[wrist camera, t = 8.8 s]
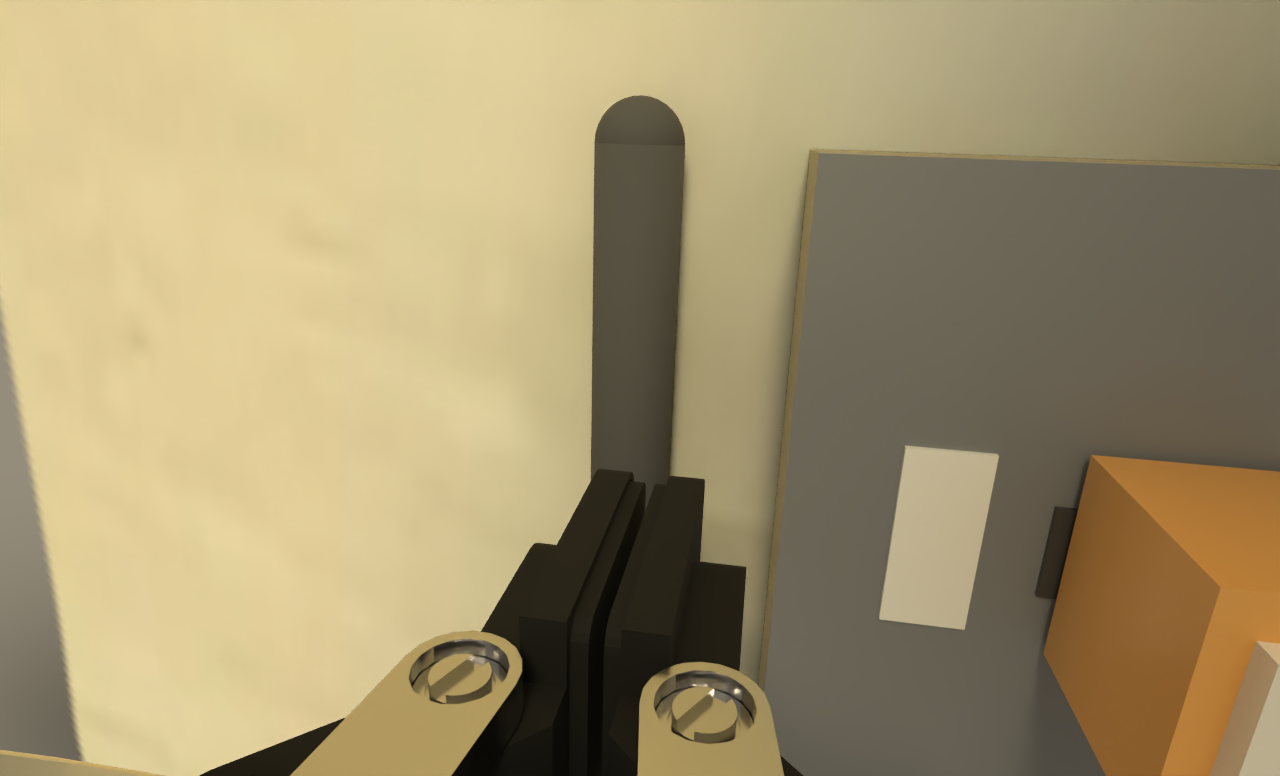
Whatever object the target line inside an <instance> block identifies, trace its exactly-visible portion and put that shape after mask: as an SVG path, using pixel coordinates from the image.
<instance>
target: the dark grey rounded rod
mask: <svg viewBox="0 0 1280 776" xmlns="http://www.w3.org/2000/svg"><path fill="white" fill-rule="evenodd" d="M684 156H685V138H684V132H683V128H682V125H681V123H680V121H679V119H678V117H677V116H676V114H675V113H674V112H673V110H672V109H670V108H669V107H668V106H667V105H666V104H665V103H663V102H661V101H660V100H658V99H655V98H652V97H648V96H631V97H628V98H624V99H622V100H620V101H618V102H616V103H615V104H614V105H613V106H611V107H610V108H609V109H608V110H607V111H606V113H605V114H604V115H603V116H602V118H601V120H600V122H599V124H598V127H597V130H596V135H595V163H594V254H593V345H592V436H591V480H592V478H593V476H594V475H595V473H596V471H597V470H598V469H607V470H617V471H627V472H633V475H634V481H635V482H645V485H646V501H645V511H646V508H647V505H648V502H649V499H650V497H651V494H652V491H653V488H654V485H655V484H665V485H667V482H668V479H669V473H670V452H671V431H672V409H673V388H674V367H675V346H676V325H677V304H678V283H679V262H680V240H681V219H682V198H683V177H684Z"/></svg>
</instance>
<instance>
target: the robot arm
mask: <svg viewBox="0 0 1280 776" xmlns="http://www.w3.org/2000/svg"><path fill="white" fill-rule="evenodd" d="M704 488H705V480H704V479H697V478H687V477H677V476H669V479H668V482H667V485H665V484H655V485H654V488H653V491H652V494H651V497H650V499H649V502H648V505H647V508H646V511H645V501H646V485H645V482H635V481H634V475H633V472H627V471H617V470H607V469H598V470H597V471H596V473H595V475H594V476H593V478H592V480H591V482H590V484H589V486H588V488H587V490H586V491H585V493H584V495H583V497H582V499H581V501H580V503H579V505H578V506H577V508H576V510H575V512H574V514H573V516H572V518H571V519H570V521H569V523H568V525H567V527H566V529H565V531H564V533H563V534H562V536H561V538H560V540H559V542H558V544H557V545H552V544H543V543H534V545H533V546H532V547H531V548H530V550H529V552H528V553H527V555H526V557H525V558H524V560H523V562H522V563H521V565H520V567H519V568H518V570H517V572H516V573H515V575H514V577H513V579H512V580H511V582H510V584H509V585H508V587H507V589H506V590H505V592H504V594H503V595H502V597H501V599H500V600H499V602H498V604H497V605H496V607H495V609H494V610H493V612H492V614H491V616H490V617H489V619H488V621H487V622H486V624H485V626H484V627H483V629H482V631H481V632H478V631H464V632H453V633H449V634H445V635H441V636H437V637H435V638H433V639H430V640H428V641H426V642H424V643H422V644H420V645H419V646H417V647H416V648H415V649H413V650H412V651H411V652H410V653H408V654H407V655H406V656H405V657H404V658H403V659H402V660H401V661H400V662H399V663H398V664H397V665H396V666H395V667H394V668H393V669H392V670H391V672H390V673H389V674H388V675H387V676H386V677H385V678H384V679H383V680H382V681H381V682H380V683H379V684H378V685H377V686H376V687H375V688H374V689H373V690H372V691H371V692H370V693H369V694H368V695H367V696H366V697H365V698H364V700H363V701H362V702H361V703H360V704H359V705H358V706H357V707H356V708H355V709H354V710H353V711H352V712H351V713H350V714H349V715H348V716H347V717H346V718H343V719H341V720H338V721H335V722H333V723H330V724H328V725H325V726H323V727H320V728H317V729H315V730H312V731H310V732H307V733H305V734H302V735H300V736H297V737H294V738H292V739H289V740H287V741H284V742H282V743H279V744H276V745H274V746H271V747H269V748H266V749H264V750H261V751H258V752H256V753H253V754H251V755H248V756H246V757H243V758H240V759H238V760H235V761H233V762H230V763H228V764H225V765H222V766H220V767H217V768H215V769H212V770H210V771H208V772H206V773H204V774H202V775H200V776H803V775H802V774H801V773H800V772H799V771H798V770H797V769H795V768H794V767H793V766H792V765H791V764H790V763H789V762H788V761H786V760H785V759H784V758H783V757H782V756H781V755H780V753H779V748H778V743H777V738H776V733H775V728H774V723H773V718H772V713H771V708H770V705H769V703H768V700H767V698H766V696H765V693H764V692H763V691H762V690H761V689H760V688H759V687H758V685H757V684H756V683H755V682H754V681H753V680H751V679H750V678H748V677H747V676H745V675H744V674H742V673H741V672H739V668H740V653H741V638H742V623H743V608H744V594H745V579H746V567H741V566H732V565H724V564H715V563H707V562H700V552H701V536H702V520H703V505H704ZM0 776H164V775H158V774H152V773H146V772H140V771H134V770H128V769H123V768H117V767H111V766H105V765H99V764H93V763H87V762H81V761H75V760H69V759H63V758H57V757H50V756H43V755H34V754H27V753H20V752H12V751H4V750H0Z"/></svg>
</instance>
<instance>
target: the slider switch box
mask: <svg viewBox="0 0 1280 776" xmlns="http://www.w3.org/2000/svg"><path fill="white" fill-rule="evenodd" d="M1091 455H1098V456H1110V457H1121V458H1132V459H1143V460H1154V461H1166V462H1177V463H1188V464H1199V465H1211V466H1222V467H1233V468H1244V469H1255V470H1267V471H1278V472H1280V166H1277V165H1249V164H1221V163H1192V162H1164V161H1136V160H1107V159H1079V158H1051V157H1022V156H994V155H966V154H937V153H909V152H881V151H853V150H824V149H810V157H809V168H808V178H807V188H806V198H805V209H804V219H803V229H802V239H801V249H800V260H799V270H798V280H797V290H796V300H795V311H794V321H793V331H792V341H791V352H790V362H789V372H788V382H787V392H786V403H785V413H784V423H783V433H782V443H781V454H780V464H779V474H778V484H777V494H776V505H775V515H774V525H773V535H772V546H771V556H770V566H769V576H768V586H767V597H766V607H765V617H764V627H763V637H762V648H761V658H760V668H759V678H758V687H759V688H760V689H761V690H762V691H763V692H764V693H765V696H766V698H767V700H768V703H769V705H770V708H771V713H772V718H773V723H774V728H775V733H776V738H777V743H778V748H779V753H780V755H781V756H782V757H783V758H784V759H785V760H786V761H788V762H789V763H790V764H791V765H792V766H793V767H794V768H795V769H797V770H798V771H799V772H800V773H801V774H802V775H803V776H1106V775H1105V773H1104V771H1103V769H1102V767H1101V765H1100V763H1099V761H1098V759H1097V757H1096V755H1095V753H1094V751H1093V749H1092V748H1091V746H1090V744H1089V742H1088V740H1087V738H1086V736H1085V734H1084V732H1083V730H1082V728H1081V726H1080V724H1079V722H1078V720H1077V718H1076V716H1075V714H1074V712H1073V710H1072V708H1071V707H1070V705H1069V703H1068V701H1067V699H1066V697H1065V695H1064V693H1063V691H1062V689H1061V687H1060V685H1059V683H1058V681H1057V679H1056V677H1055V675H1054V673H1053V671H1052V669H1051V667H1050V665H1049V664H1048V662H1047V660H1046V658H1045V656H1044V654H1043V653H1044V649H1045V645H1046V641H1047V637H1048V632H1049V628H1050V624H1051V620H1052V616H1053V612H1054V608H1055V603H1056V599H1057V595H1058V591H1059V587H1060V583H1061V578H1062V574H1063V570H1064V566H1065V562H1066V558H1067V554H1068V549H1069V545H1070V541H1071V537H1072V533H1073V529H1074V524H1075V520H1076V516H1077V512H1078V508H1079V504H1080V500H1081V495H1082V491H1083V487H1084V483H1085V479H1086V475H1087V470H1088V466H1089V462H1090V458H1091Z"/></svg>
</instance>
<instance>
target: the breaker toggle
mask: <svg viewBox="0 0 1280 776" xmlns="http://www.w3.org/2000/svg"><path fill="white" fill-rule="evenodd" d="M1043 654H1044V656H1045V658H1046V660H1047V662H1048V664H1049V665H1050V667H1051V669H1052V671H1053V673H1054V675H1055V677H1056V679H1057V681H1058V683H1059V685H1060V687H1061V689H1062V691H1063V693H1064V695H1065V697H1066V699H1067V701H1068V703H1069V705H1070V707H1071V708H1072V710H1073V712H1074V714H1075V716H1076V718H1077V720H1078V722H1079V724H1080V726H1081V728H1082V730H1083V732H1084V734H1085V736H1086V738H1087V740H1088V742H1089V744H1090V746H1091V748H1092V749H1093V751H1094V753H1095V755H1096V757H1097V759H1098V761H1099V763H1100V765H1101V767H1102V769H1103V771H1104V773H1105V775H1106V776H1280V472H1278V471H1267V470H1255V469H1244V468H1233V467H1222V466H1211V465H1199V464H1188V463H1177V462H1166V461H1154V460H1143V459H1132V458H1121V457H1110V456H1098V455H1091V458H1090V462H1089V466H1088V470H1087V475H1086V479H1085V483H1084V487H1083V491H1082V495H1081V500H1080V504H1079V508H1078V512H1077V516H1076V520H1075V524H1074V529H1073V533H1072V537H1071V541H1070V545H1069V549H1068V554H1067V558H1066V562H1065V566H1064V570H1063V574H1062V578H1061V583H1060V587H1059V591H1058V595H1057V599H1056V603H1055V608H1054V612H1053V616H1052V620H1051V624H1050V628H1049V632H1048V637H1047V641H1046V645H1045V649H1044V653H1043Z"/></svg>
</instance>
